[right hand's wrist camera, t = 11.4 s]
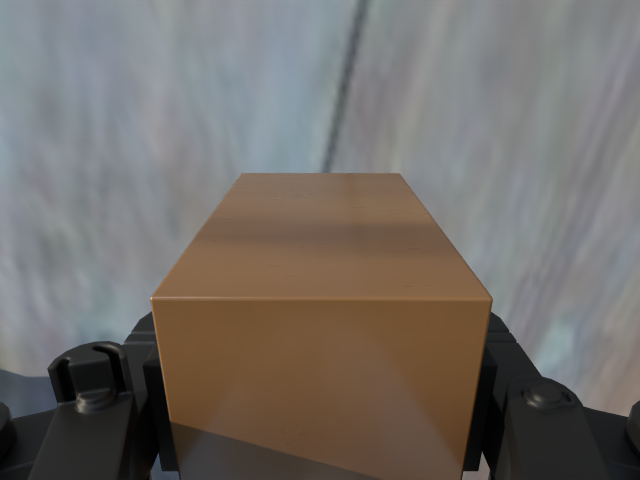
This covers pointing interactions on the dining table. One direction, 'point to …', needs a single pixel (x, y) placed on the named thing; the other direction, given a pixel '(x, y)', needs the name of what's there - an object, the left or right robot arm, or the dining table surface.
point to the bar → (321, 335)
